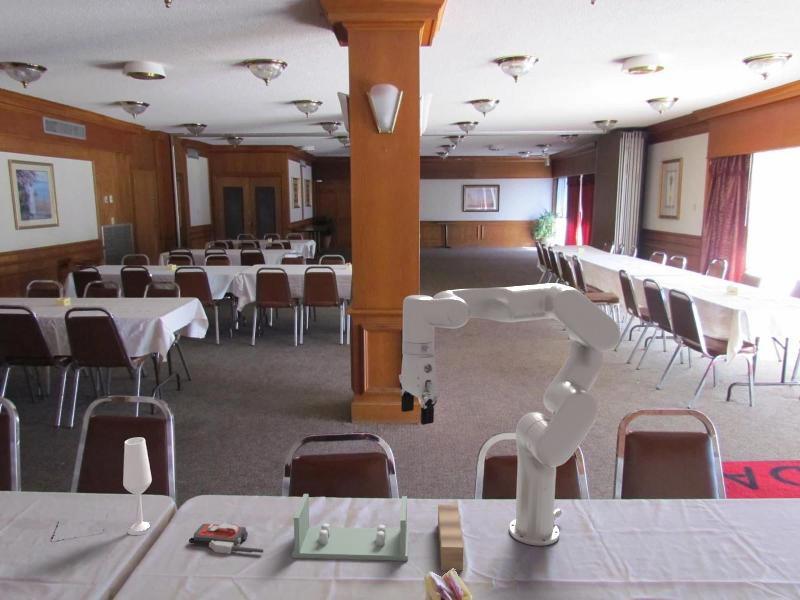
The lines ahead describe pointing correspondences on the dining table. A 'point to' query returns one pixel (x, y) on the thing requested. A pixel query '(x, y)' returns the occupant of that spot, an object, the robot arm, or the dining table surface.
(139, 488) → the champagne flute
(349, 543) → the shelf rack
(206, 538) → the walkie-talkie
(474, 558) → the dining table surface
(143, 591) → the dining table surface
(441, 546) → the wooden block
